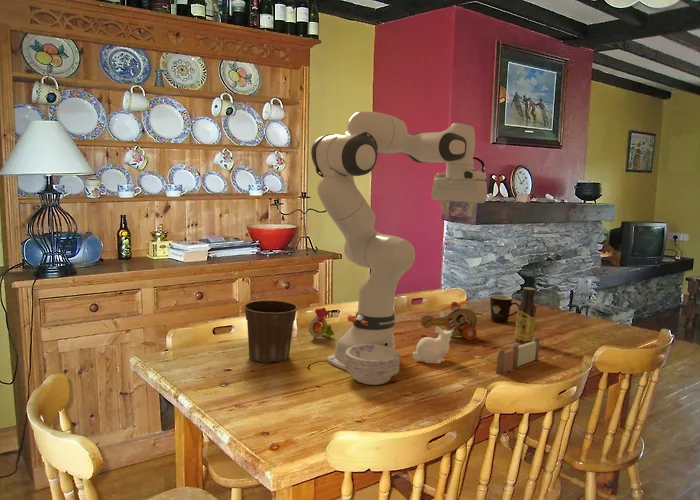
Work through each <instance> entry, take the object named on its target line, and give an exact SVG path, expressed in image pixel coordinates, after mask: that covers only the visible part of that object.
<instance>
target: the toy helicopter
mask: <svg viewBox="0 0 700 500" xmlns="http://www.w3.org/2000/svg"><path fill="white" fill-rule="evenodd" d="M469 302H470V301H469V300H463V301H459V302H456V301H452V302H451V303H450V305H447V306H444V307H441V308H439V311H441V312H443V311H447V310H449V309H450V311H451V312H450V313H449V314H448V315H446V316H432V315H430V314H428V313H427V314H423V315H422V316H420V319H419V324H420V325H421V326H422V327H423V328H424V329H430V328H432V327H436V326H438V327H445V328H446V329H447V331H450V330H454V331H453V332H452V336H450V339H452V338H455V337H458V336H459V337H463V338H464V339H466V340H467V341H472V340H474V339H475V338H476V336H477V329H475V328H476V327H477V322H478V318H477V315H476V313H475V311H474V310H471V309H470V308H465V307H464V308H461V307H462V306H461V305H465V304H469Z"/></svg>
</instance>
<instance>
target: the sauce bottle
mask: <svg viewBox="0 0 700 500" xmlns="http://www.w3.org/2000/svg"><path fill="white" fill-rule="evenodd" d="M535 293H536V288H534V287H529V286H528V287H527V286H526V287H523V289H522V298H521V299H522V300H521V301H520V304H519V308H518V307H517V310H516V311H517V313H516V319H515V329H514V330H515V331H514V342H515V343H517V344H521V345H523V344H526V343H529V342H532V341H533V337H534V331H535V323H536V312H537V307H536V305H535V303H534V301H535V299H534V297H535Z"/></svg>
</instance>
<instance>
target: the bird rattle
mask: <svg viewBox="0 0 700 500" xmlns="http://www.w3.org/2000/svg"><path fill="white" fill-rule="evenodd" d="M314 313H315V314H316V316H313V317H312V318H311V319H310V320H309V323H308V326H307V327H308V332H309V334H310V335H311V336H312V337H313V339H314V340H317V339H318V338H321V337H322V336H324V335H325V336H326V338H327V337H330V338H331V336H335V331H333V329H332V325H331V324H328V322H327V320H326V318H325V317H327V316H329V314H330V312H329V311H328V310H327V308H326V307H321V308H316V309H315V310H314ZM316 338H317V339H316Z"/></svg>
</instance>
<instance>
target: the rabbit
mask: <svg viewBox="0 0 700 500" xmlns="http://www.w3.org/2000/svg"><path fill="white" fill-rule="evenodd" d="M453 331H454V330H450V331H448V330H446V329H444V330H443V328H441V327H440V326H435V329H434V333H436V334H439V335H438V336H437V337H436V338H433V337H430V336H425V337H423V338H421V339H420V340H419V341H418V342H417V344H416V348H415V351H413V353H412V357H413V359H414V360H415V361H417V362H420V363H425V364H441V363H442V362H445V361H446V359H444V358H443V356H445V355H446V354H447V353H448V352H449V351H450V341H451V337H450V336H452V332H453Z"/></svg>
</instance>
